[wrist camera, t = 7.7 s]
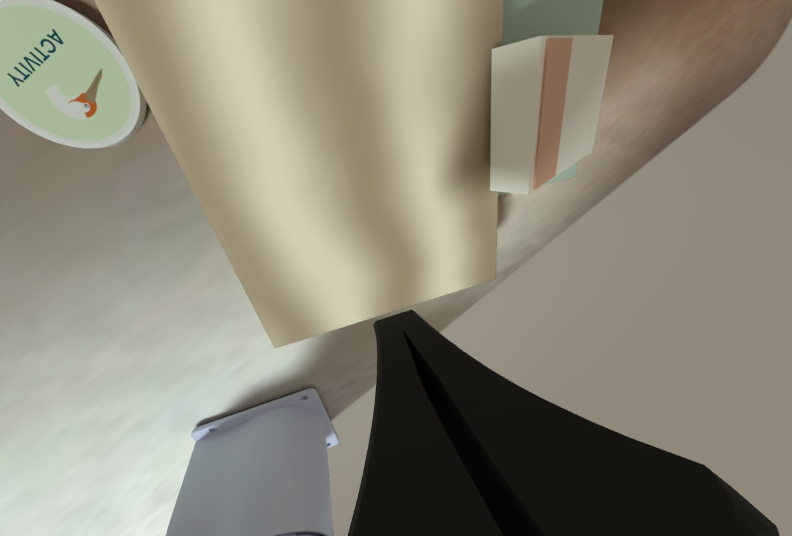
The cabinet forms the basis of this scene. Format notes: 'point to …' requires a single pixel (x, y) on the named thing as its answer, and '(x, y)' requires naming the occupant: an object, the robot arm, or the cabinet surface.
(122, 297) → the cabinet surface
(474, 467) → the robot arm
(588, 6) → the mat
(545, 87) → the white striped box
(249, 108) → the cream piece
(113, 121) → the sign
